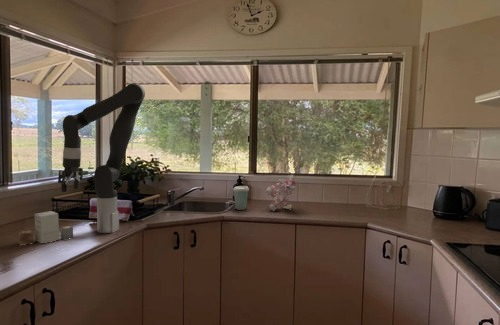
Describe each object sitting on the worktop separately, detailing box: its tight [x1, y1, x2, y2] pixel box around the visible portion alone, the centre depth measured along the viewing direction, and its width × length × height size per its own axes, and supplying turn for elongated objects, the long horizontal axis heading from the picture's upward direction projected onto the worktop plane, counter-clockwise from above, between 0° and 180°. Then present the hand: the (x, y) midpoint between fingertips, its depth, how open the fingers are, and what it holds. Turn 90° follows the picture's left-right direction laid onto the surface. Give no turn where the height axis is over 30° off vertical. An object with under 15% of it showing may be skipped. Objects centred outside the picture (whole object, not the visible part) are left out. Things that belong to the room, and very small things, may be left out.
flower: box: [264, 172, 297, 212], centre depth 223 cm, size 20×22×25 cm
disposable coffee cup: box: [232, 185, 250, 211], centre depth 222 cm, size 11×11×15 cm
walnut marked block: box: [18, 229, 35, 246], centre depth 145 cm, size 5×5×5 cm
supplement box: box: [34, 210, 60, 244], centre depth 149 cm, size 7×7×13 cm
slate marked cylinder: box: [60, 225, 74, 240], centre depth 154 cm, size 5×5×5 cm
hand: (70, 190), depth 160 cm, fingers open, 8 cm apart
